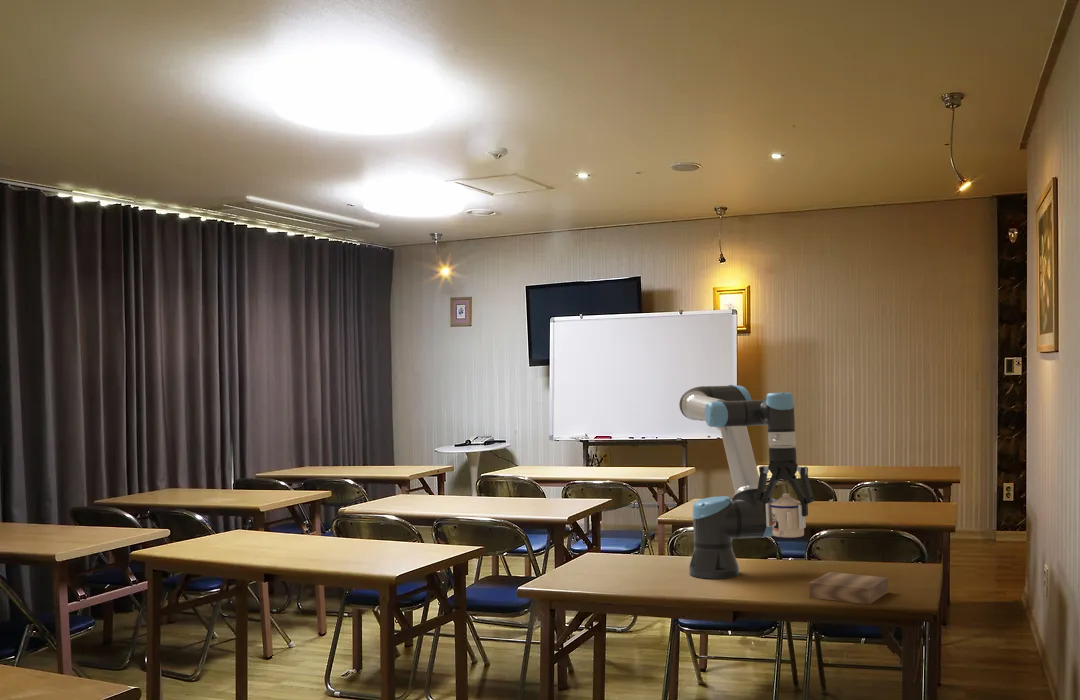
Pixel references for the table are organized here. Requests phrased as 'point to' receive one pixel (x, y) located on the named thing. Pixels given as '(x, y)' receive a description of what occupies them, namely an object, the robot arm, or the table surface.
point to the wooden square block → (848, 587)
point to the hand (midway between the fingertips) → (786, 526)
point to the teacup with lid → (786, 517)
